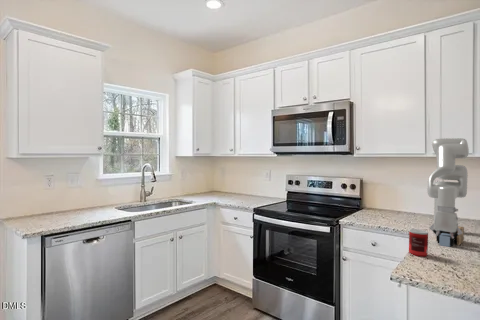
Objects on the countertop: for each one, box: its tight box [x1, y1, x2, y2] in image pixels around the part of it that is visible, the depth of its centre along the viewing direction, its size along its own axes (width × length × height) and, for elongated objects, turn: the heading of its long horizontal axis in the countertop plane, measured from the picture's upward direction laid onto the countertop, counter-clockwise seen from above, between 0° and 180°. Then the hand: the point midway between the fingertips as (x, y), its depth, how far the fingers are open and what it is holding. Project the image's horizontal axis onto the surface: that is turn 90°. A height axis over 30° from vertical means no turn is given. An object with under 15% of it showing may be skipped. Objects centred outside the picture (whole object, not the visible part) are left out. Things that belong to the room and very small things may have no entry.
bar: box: [439, 232, 451, 248], centre depth 160 cm, size 12×4×5 cm, turn 140°
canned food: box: [408, 228, 429, 258], centre depth 141 cm, size 8×8×11 cm
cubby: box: [440, 225, 465, 246], centre depth 166 cm, size 12×10×8 cm
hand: (445, 243), depth 158 cm, fingers closed on bar, 4 cm apart
